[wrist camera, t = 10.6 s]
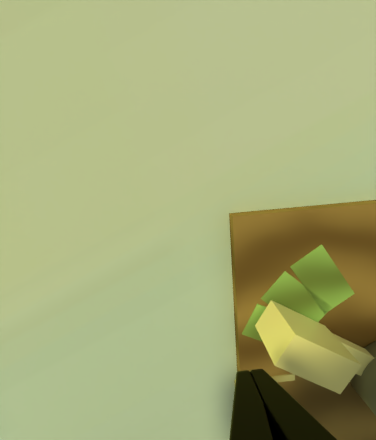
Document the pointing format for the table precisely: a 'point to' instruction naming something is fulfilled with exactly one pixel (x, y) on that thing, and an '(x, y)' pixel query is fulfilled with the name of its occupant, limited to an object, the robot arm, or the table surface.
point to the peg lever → (317, 353)
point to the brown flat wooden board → (308, 294)
